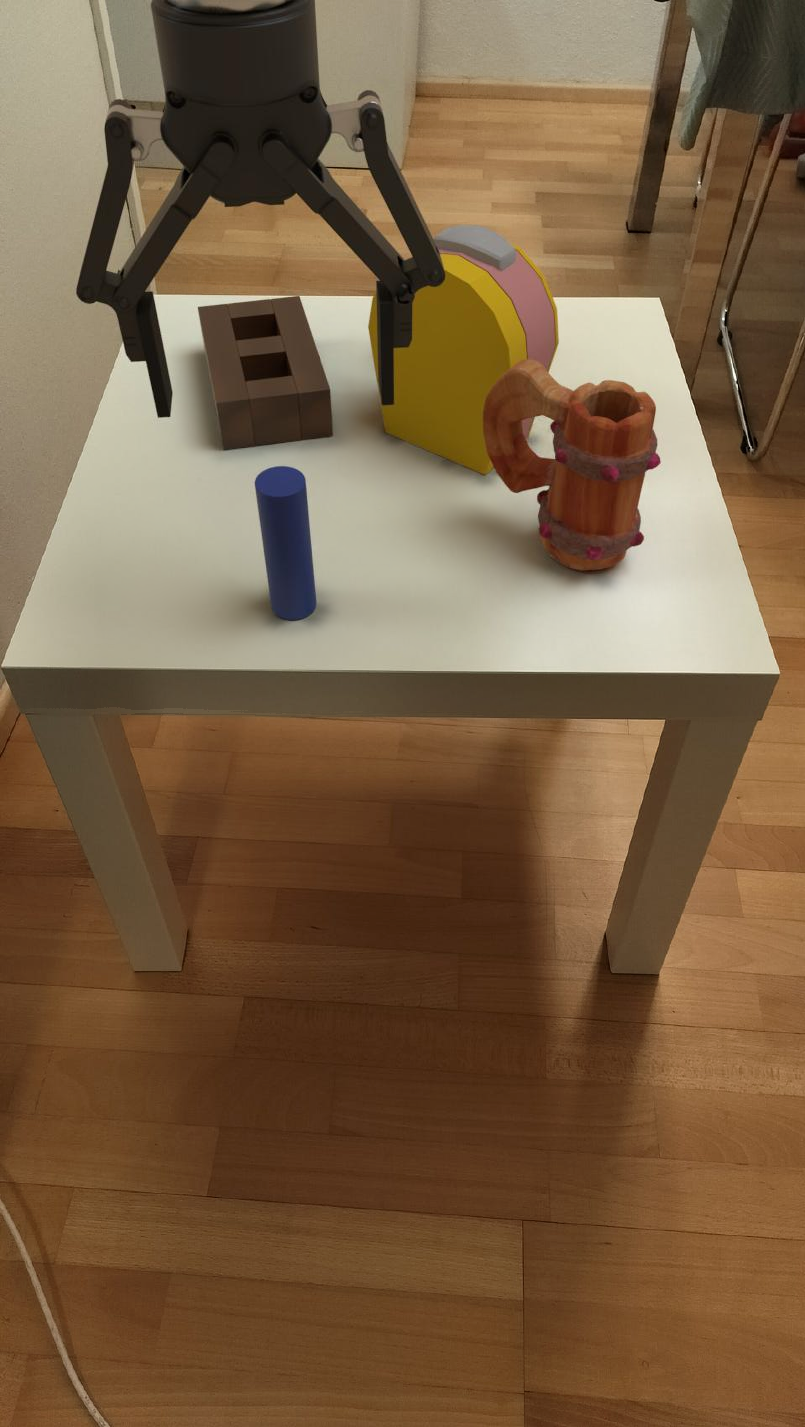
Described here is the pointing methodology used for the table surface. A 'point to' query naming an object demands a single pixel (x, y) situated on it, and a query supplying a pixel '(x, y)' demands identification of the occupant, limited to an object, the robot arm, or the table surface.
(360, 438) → the table surface
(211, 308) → the holder
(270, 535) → the blue long cylinder
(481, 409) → the alarm clock
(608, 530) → the mug
